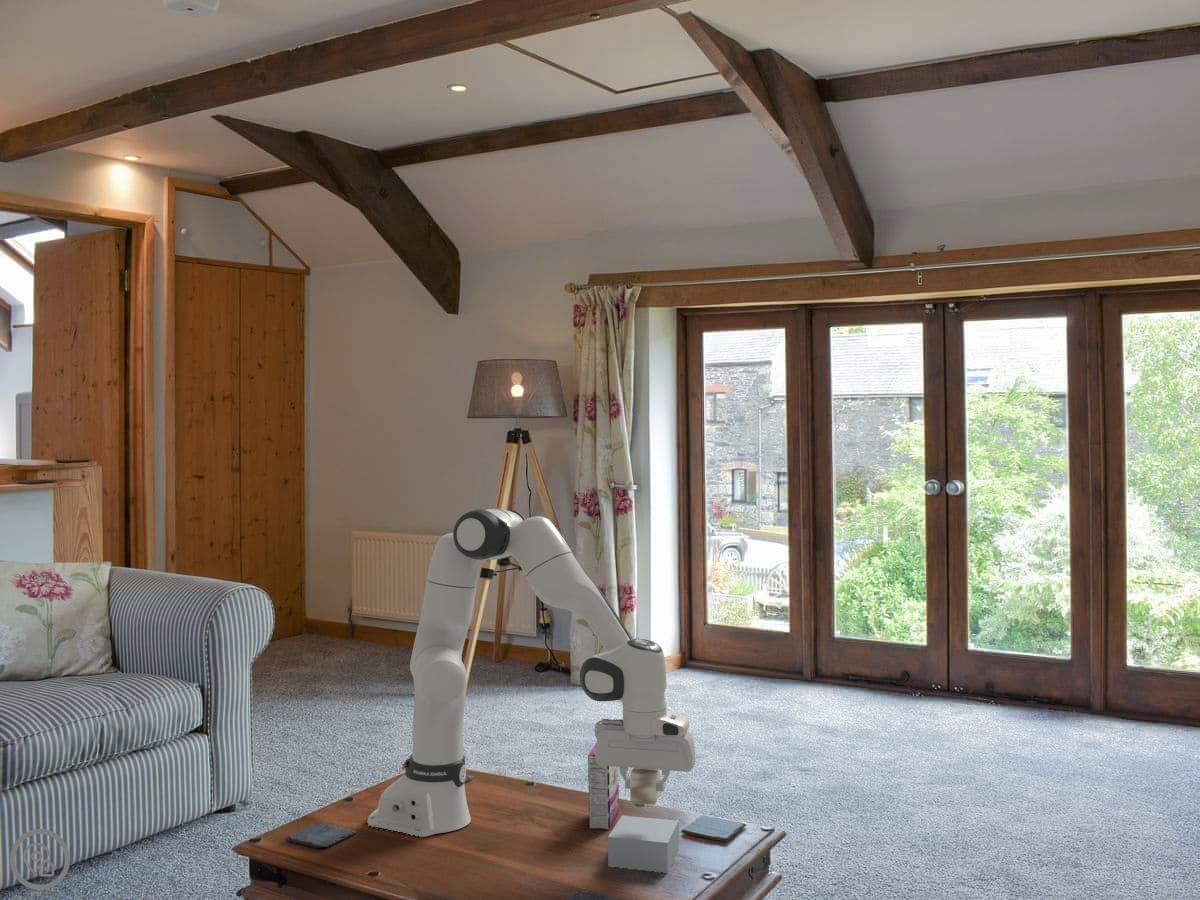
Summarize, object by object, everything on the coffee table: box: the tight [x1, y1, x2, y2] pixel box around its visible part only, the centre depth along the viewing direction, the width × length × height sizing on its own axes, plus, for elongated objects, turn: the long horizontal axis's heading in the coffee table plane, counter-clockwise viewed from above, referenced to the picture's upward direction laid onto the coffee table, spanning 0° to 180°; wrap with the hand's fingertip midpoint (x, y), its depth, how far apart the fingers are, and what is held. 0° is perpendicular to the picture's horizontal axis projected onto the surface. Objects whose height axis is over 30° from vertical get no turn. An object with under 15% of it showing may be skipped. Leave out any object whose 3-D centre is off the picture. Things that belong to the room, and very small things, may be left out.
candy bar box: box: [587, 741, 620, 831], centre depth 240 cm, size 11×5×16 cm, turn 168°
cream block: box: [629, 768, 661, 806], centre depth 219 cm, size 5×5×6 cm
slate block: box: [607, 815, 680, 874], centre depth 219 cm, size 12×12×6 cm
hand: (645, 789), depth 219 cm, fingers closed on cream block, 5 cm apart
